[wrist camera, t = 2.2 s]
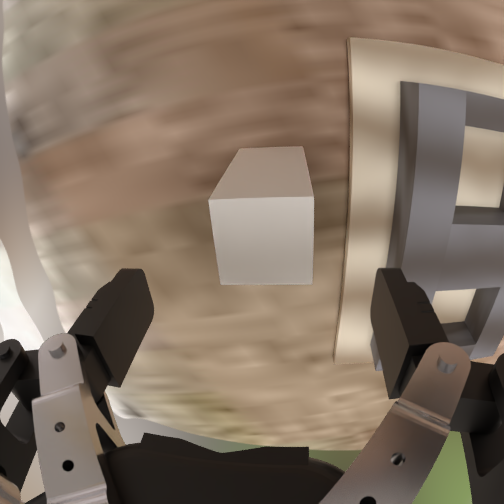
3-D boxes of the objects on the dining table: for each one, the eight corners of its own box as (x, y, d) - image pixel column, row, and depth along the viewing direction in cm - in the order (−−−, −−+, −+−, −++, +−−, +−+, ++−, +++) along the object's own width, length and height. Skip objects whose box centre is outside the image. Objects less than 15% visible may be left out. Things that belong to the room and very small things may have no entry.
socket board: (346, 38, 16) (361, 30, 12) (554, 85, 13) (587, 94, 10) (333, 356, 29) (336, 390, 25) (491, 341, 27) (504, 368, 23)
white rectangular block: (239, 148, 20) (208, 199, 12) (302, 146, 20) (313, 196, 12) (244, 205, 22) (220, 284, 14) (304, 204, 22) (312, 284, 14)
